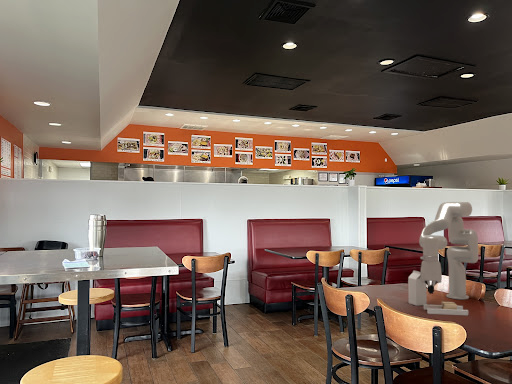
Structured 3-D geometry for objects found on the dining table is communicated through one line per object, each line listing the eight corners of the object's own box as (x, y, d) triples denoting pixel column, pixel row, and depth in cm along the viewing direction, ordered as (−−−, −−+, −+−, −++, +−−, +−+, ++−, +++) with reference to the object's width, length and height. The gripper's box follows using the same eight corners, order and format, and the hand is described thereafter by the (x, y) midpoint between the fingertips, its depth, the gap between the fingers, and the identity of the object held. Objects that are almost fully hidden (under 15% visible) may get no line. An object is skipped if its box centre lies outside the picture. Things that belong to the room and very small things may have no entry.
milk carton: (416, 306, 236) (415, 272, 236) (408, 303, 242) (408, 270, 243) (426, 305, 237) (426, 271, 238) (418, 302, 244) (418, 270, 245)
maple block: (441, 310, 225) (441, 301, 226) (453, 311, 224) (453, 302, 224) (444, 313, 219) (444, 304, 220) (456, 314, 218) (456, 304, 219)
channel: (423, 308, 229) (423, 304, 229) (462, 310, 225) (462, 305, 225) (427, 313, 219) (427, 308, 219) (468, 315, 216) (468, 310, 216)
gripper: (417, 259, 222) (417, 294, 221) (447, 260, 219) (447, 295, 218) (414, 257, 229) (414, 291, 228) (443, 258, 226) (443, 292, 226)
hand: (430, 293), depth 223 cm, fingers closed
